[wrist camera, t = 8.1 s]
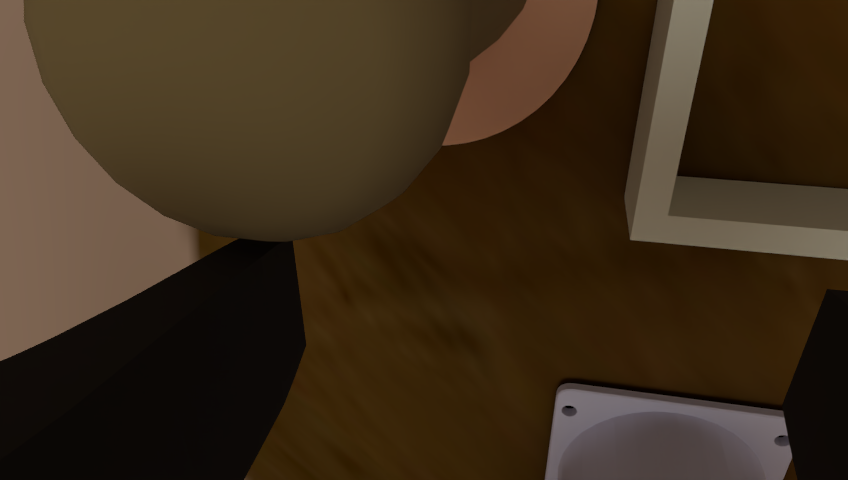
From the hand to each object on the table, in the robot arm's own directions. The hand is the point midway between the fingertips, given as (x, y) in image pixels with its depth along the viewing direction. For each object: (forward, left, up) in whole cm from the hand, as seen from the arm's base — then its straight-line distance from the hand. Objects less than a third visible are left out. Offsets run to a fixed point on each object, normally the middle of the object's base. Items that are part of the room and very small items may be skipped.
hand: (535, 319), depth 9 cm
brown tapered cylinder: (+4, +4, -10) cm, 11 cm away
